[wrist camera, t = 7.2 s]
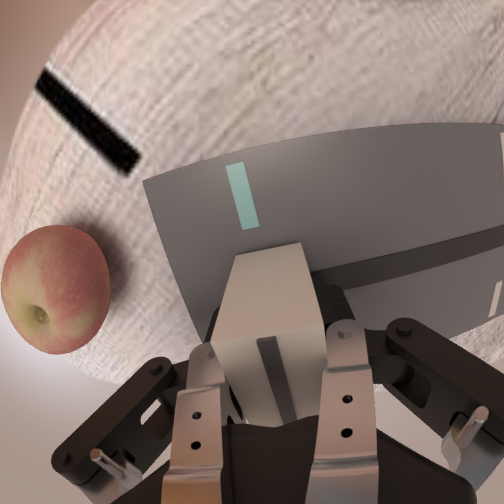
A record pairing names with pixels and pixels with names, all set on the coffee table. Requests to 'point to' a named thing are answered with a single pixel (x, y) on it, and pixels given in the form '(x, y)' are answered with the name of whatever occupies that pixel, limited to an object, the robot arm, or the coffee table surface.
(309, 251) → the fader console
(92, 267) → the apple
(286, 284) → the fader
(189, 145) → the coffee table surface
